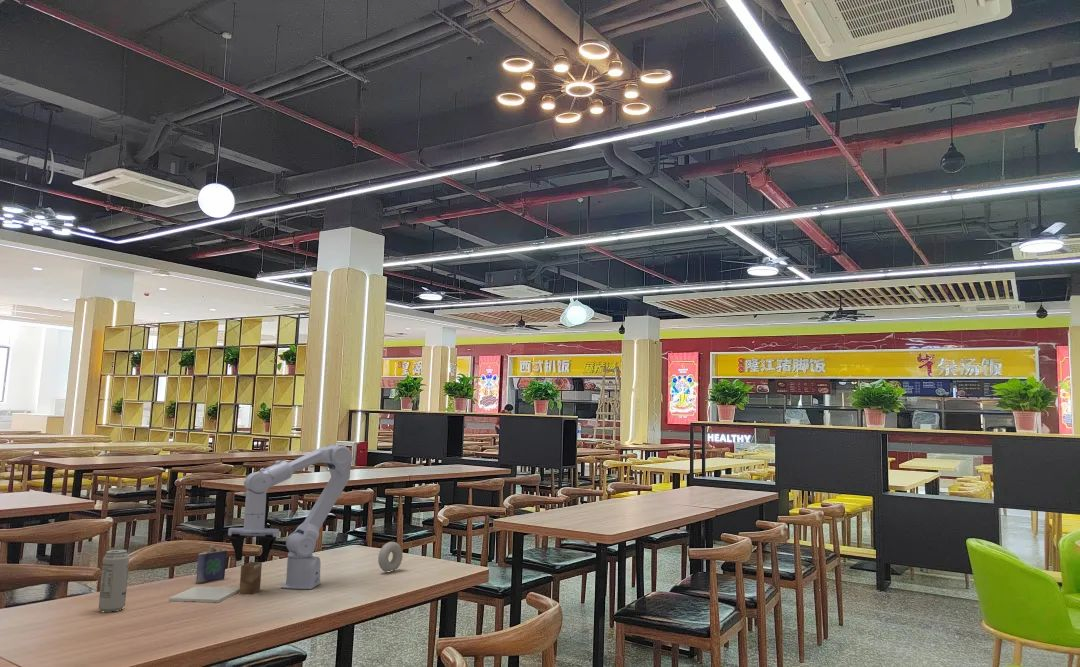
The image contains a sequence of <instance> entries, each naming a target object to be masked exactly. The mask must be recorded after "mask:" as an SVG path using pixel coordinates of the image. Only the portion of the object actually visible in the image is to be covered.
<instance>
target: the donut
mask: <svg viewBox="0 0 1080 667" xmlns="http://www.w3.org/2000/svg"><path fill="white" fill-rule="evenodd" d="M391 553H392V558H391V560H389V557H390V554H391ZM377 559H378V565H379V568H380V569H381V570H382V571H383V572H385V571H391V570H395V569H396V570H398V568H399V567H400V565H401V564H402V561H403V550H402V547H401V545H400V544H399V543H398V542H396V541H388V542H385V544H383V545H382V547H381V548H380V550H379V553H378V557H377ZM396 570H395V571H396Z"/></svg>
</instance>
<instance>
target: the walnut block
mask: <svg viewBox="0 0 1080 667" xmlns="http://www.w3.org/2000/svg"><path fill="white" fill-rule="evenodd" d="M262 563H263V562H262V561H260V562H259V561H249V562H247V563H244V564H242V565H241V566H240V578H239V579H240V580H239V588H240V590H239V592H238V594H239V595H245V596H246V595H248V596H249V595H250V596H252V595H253V594H255V593H257V592H259V591H260V590H261V582H262Z"/></svg>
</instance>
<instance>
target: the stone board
mask: <svg viewBox="0 0 1080 667" xmlns="http://www.w3.org/2000/svg"><path fill="white" fill-rule="evenodd" d="M239 590H240V587H222V586H219V587H218V586H194V587H191V588H188V589H186V590H184V591H182V592H180V593H177V594H174V595H172V596H170V597H168V602H184V601H190V602H191V601H195V602H194V603H214V602H216V604H217V603H220V602H222V601H224V600H227V599H228V598H230V597H232V596H234V595H236V594H239ZM191 603H192V602H191Z"/></svg>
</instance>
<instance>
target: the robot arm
mask: <svg viewBox="0 0 1080 667" xmlns="http://www.w3.org/2000/svg"><path fill="white" fill-rule="evenodd" d="M353 460H354V458H353V455H352V452H351V450H350V449H349V447H347V446H345V445H338V444H337V445H336V444H328V445H326V446H323V447H319V448H317V449H314V450H313V451H310V452H308V453H306V454H304V455H302V456H300V457H297V458H295V459H294V460H291V461H290V462H288V461H286V460H282V461H281V460H277V461H274V463H275V464H273V465H269V466H268V467H265V468H264V467H262V468H260V469H259V472H255V471H254V472H251V473H249V474H248V475H247V476H246V478H245V480H244V482H243V486H244V488H245V489H246V492H245V493H246V494H245V504H244V515H243V516H244V517H243V519H244V520H243V527H230V528H228V531H227V535H228V536H230V537H229V541H230V543H231V545H232V548H233V551H234V556H235V561H236V562H240V561H242V560H243V548H244V543H245V538H246V536H247V537H248V536H251V537H252V536H253V537H255V536H256V537H261V545H262V548H261V549H262V551H261V562H262V563H265V562H267V561H268V558H269V555H270V553H271V552H270V551H271V549H272V547H273V545H274V543H275V542H276V539H277V537H279V536H280V528H270V527H269V528H268V527H265V522H266V521H265V520H266V506H267V505H266V504H267V491H268V490H269V489H270V487H274V486H276V485H278V484H280V483H283V482H284V481H287V480H289V479H291V478H292V477H293V474H294V473H295V472H297V471H298V472H299V471H300V470H303V469H306V468H307V467H310V466H313V465H315V464H317V463H320V464H321V463H323V464H325V465H326V466H327V468H328V470H329V473H330V478H329V480H328V482H327V484H326V485H325V487H324V488H323V490H322V492H321V493H320V494H319V497H318V498H317V500H316V501H315V503H314V505H313V506H312V508H311V510H310V512H309V513H308V514H307V516H306V517H305V519H304V521H303V522H302V523H301V524H299V525H298V526H297V527H296V529H295V530H294V531H293V532H291V533H290V534H289V535H288V536H287V538H286V540H285V546H286V549H287V550H288V553H287V561H286V575H285V576H286V578H285V579H286V580H285V584H282V586H280V589H293V590H294V589H295V590H297V589H300V590H312V589H313V588H316V587H317V586H319V585H320V584H321V581H320V580H321V558H320V557H319V556H313V553H314V552H315V550H316V546H317V540H319V537H320V529H321V527H322V526H323V524H324V522H325V521H326V519H327V517H328V515H329V514H330V512H331V510H332V509H333V508H334V506H335V504H336V503H337V500H338V499H339V497H340V496H341V494H342V492H343V491H344V489H345V487H346V485H347V484H348V483H349V480H350V477H351V469H352V468H351V466H352V463H353Z"/></svg>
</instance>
